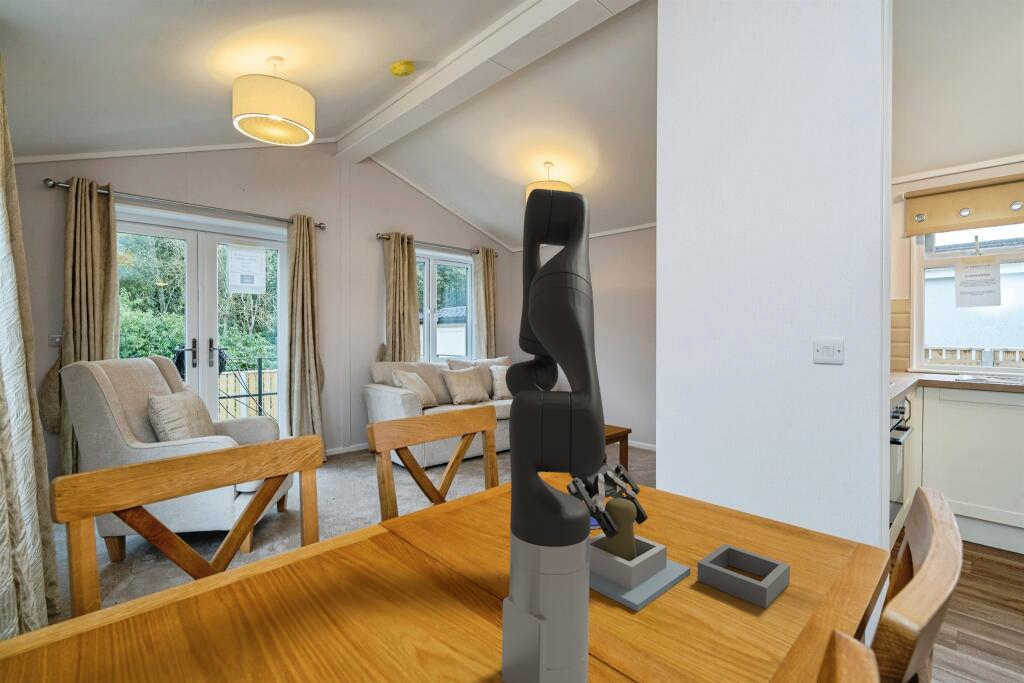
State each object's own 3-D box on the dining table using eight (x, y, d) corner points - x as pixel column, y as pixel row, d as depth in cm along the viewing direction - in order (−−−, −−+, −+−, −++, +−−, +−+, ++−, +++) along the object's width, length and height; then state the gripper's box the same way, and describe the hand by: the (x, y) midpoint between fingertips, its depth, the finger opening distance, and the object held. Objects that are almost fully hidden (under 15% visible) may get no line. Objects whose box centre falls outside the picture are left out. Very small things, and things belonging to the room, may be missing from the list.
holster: (766, 608, 70) (766, 588, 69) (697, 580, 77) (697, 562, 77) (789, 583, 77) (790, 564, 77) (724, 560, 84) (724, 543, 84)
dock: (637, 611, 68) (638, 580, 68) (554, 569, 80) (554, 543, 80) (690, 573, 79) (690, 547, 79) (610, 541, 91) (610, 518, 91)
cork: (611, 577, 76) (613, 508, 76) (595, 559, 82) (596, 496, 82) (645, 572, 78) (646, 505, 77) (626, 555, 83) (627, 493, 83)
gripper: (562, 440, 80) (618, 529, 72) (611, 429, 89) (666, 506, 81) (538, 465, 84) (589, 552, 76) (588, 451, 93) (638, 527, 85)
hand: (629, 528), depth 78 cm, fingers open, 8 cm apart
